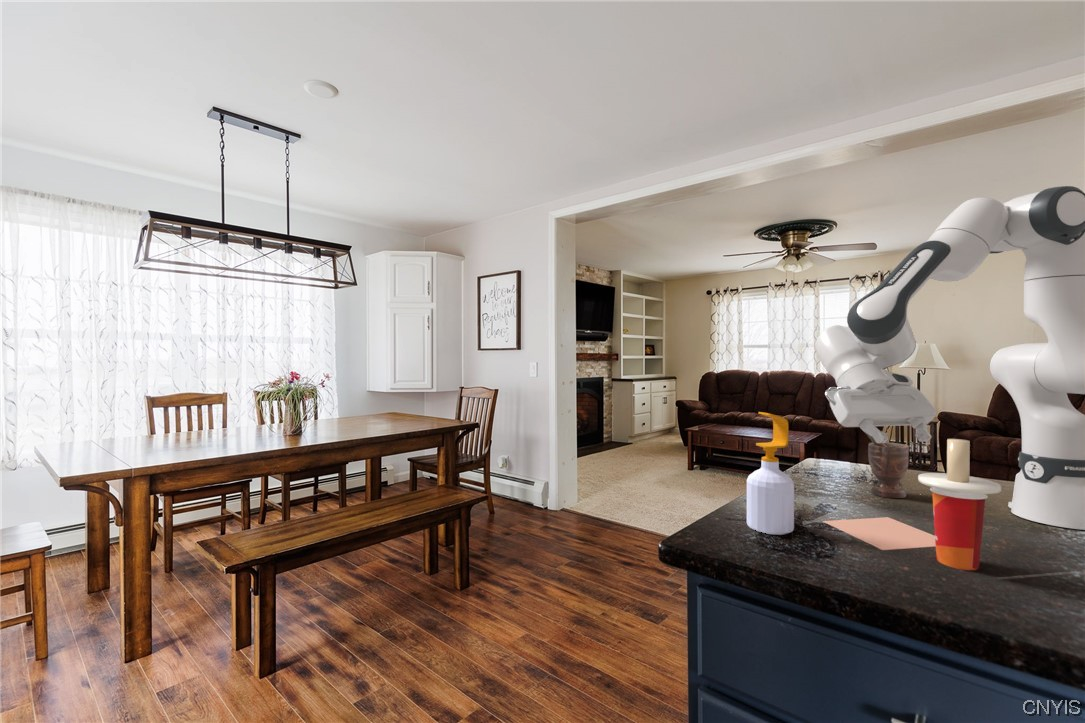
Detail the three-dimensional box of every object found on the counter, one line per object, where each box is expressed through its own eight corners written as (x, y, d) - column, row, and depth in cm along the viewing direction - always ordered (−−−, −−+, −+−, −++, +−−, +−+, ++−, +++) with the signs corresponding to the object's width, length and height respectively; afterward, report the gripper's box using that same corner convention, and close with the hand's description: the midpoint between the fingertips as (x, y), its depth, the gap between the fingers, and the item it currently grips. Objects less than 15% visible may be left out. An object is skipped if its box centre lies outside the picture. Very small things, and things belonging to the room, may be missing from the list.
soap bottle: (737, 522, 108) (737, 410, 108) (773, 519, 110) (773, 409, 110) (766, 537, 99) (766, 415, 99) (803, 533, 102) (804, 414, 101)
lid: (953, 476, 92) (954, 434, 92) (1019, 492, 81) (1020, 445, 81) (902, 478, 90) (902, 436, 90) (962, 495, 79) (963, 447, 79)
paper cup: (958, 555, 90) (959, 479, 90) (999, 574, 82) (1000, 490, 82) (917, 556, 90) (918, 479, 89) (955, 575, 82) (955, 491, 82)
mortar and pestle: (890, 503, 121) (890, 422, 121) (854, 494, 129) (854, 418, 128) (915, 496, 127) (915, 419, 126) (879, 488, 134) (879, 415, 134)
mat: (887, 518, 110) (887, 517, 110) (957, 546, 94) (957, 544, 94) (822, 522, 108) (822, 521, 108) (882, 552, 92) (882, 549, 92)
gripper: (829, 377, 102) (866, 432, 92) (916, 376, 105) (961, 429, 95) (814, 397, 106) (848, 451, 97) (898, 395, 109) (939, 448, 100)
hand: (905, 440), depth 96 cm, fingers open, 8 cm apart
